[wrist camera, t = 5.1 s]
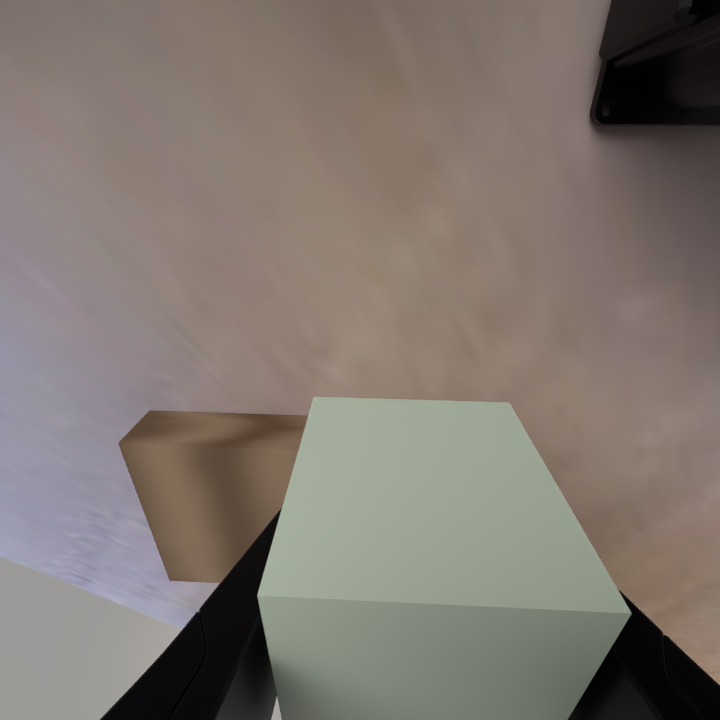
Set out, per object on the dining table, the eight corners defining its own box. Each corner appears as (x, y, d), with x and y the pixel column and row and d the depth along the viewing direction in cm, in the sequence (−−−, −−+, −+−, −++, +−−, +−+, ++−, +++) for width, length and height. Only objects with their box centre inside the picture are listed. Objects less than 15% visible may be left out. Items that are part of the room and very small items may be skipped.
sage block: (508, 402, 9) (631, 613, 5) (478, 534, 12) (542, 761, 7) (314, 396, 9) (257, 595, 5) (321, 528, 12) (287, 745, 7)
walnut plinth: (346, 417, 22) (341, 451, 19) (347, 548, 27) (344, 589, 25) (149, 410, 22) (118, 443, 20) (189, 541, 28) (169, 580, 25)
